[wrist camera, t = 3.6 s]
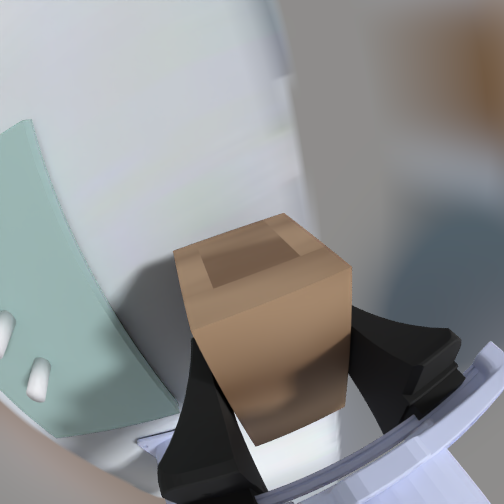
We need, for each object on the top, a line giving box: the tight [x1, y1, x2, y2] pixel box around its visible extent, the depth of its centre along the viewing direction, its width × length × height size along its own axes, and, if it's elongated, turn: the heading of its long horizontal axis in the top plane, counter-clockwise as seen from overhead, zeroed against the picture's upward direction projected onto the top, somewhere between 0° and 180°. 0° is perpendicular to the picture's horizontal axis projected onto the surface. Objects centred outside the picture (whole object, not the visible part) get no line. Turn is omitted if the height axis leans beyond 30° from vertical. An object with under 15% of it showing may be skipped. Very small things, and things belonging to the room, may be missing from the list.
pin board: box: [0, 119, 180, 438], centre depth 11 cm, size 20×12×4 cm, turn 13°
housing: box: [173, 213, 352, 446], centre depth 12 cm, size 9×5×5 cm, turn 13°
